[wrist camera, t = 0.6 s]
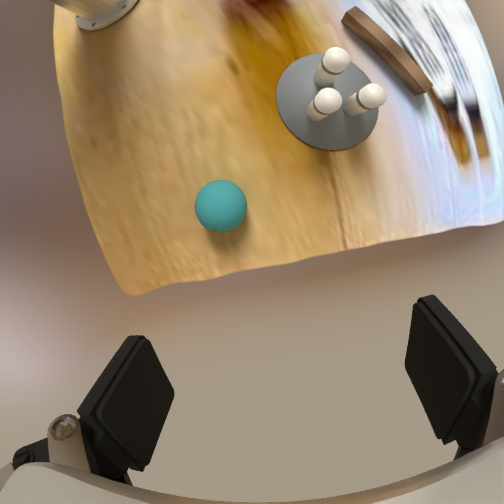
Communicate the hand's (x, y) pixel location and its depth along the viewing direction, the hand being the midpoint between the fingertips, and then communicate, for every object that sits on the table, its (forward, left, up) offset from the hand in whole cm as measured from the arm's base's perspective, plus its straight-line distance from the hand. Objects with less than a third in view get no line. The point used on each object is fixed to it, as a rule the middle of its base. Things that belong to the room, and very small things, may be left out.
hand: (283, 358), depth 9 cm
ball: (-5, -4, -24) cm, 25 cm away
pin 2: (-2, +16, -27) cm, 32 cm away
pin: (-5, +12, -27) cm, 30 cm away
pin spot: (-5, +15, -27) cm, 31 cm away
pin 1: (-7, +16, -27) cm, 32 cm away
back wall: (-5, +26, -27) cm, 38 cm away
